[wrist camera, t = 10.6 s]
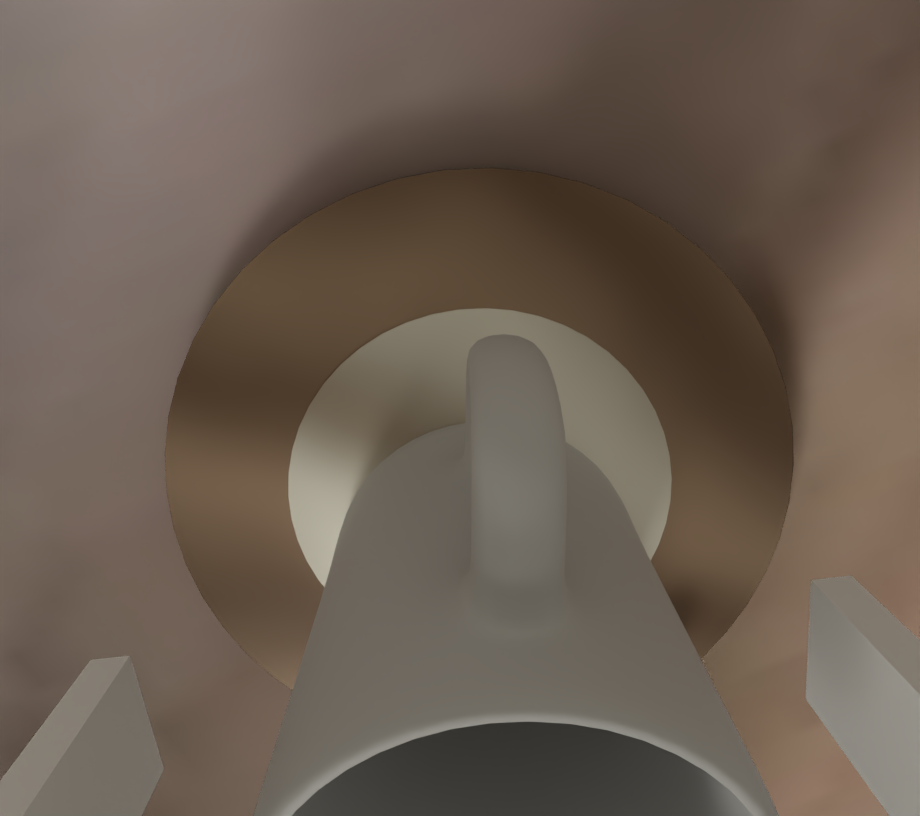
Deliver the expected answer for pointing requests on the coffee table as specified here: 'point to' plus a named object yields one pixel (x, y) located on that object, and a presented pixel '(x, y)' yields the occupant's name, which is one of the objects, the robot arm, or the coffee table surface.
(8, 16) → the coffee table surface
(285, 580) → the ring
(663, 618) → the mug
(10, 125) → the coffee table surface
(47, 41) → the coffee table surface
